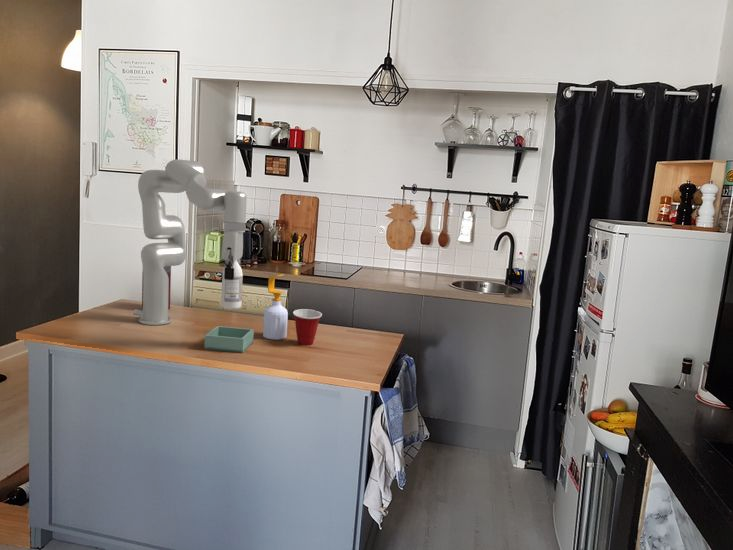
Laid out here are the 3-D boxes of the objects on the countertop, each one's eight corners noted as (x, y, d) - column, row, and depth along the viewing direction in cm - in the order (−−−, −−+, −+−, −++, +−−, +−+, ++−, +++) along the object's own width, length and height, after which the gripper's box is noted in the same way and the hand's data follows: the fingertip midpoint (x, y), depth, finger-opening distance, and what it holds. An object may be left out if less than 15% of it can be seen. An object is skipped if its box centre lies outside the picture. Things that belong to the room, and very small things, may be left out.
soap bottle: (279, 341, 218) (282, 277, 214) (258, 337, 221) (261, 274, 217) (290, 336, 227) (294, 274, 223) (270, 332, 230) (273, 271, 226)
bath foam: (244, 308, 205) (247, 252, 202) (226, 310, 201) (228, 252, 198) (235, 304, 210) (238, 249, 207) (218, 305, 206) (219, 250, 203)
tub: (204, 349, 202) (204, 335, 201) (217, 339, 215) (217, 326, 214) (242, 352, 201) (243, 338, 200) (253, 342, 214) (253, 329, 213)
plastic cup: (297, 348, 211) (299, 316, 209) (287, 340, 220) (288, 309, 219) (324, 346, 216) (326, 315, 214) (313, 338, 225) (315, 308, 224)
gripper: (231, 224, 210) (229, 273, 213) (215, 228, 193) (213, 280, 196) (251, 226, 210) (249, 274, 212) (237, 229, 192) (235, 282, 195)
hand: (232, 277), depth 204 cm, fingers closed on bath foam, 7 cm apart
